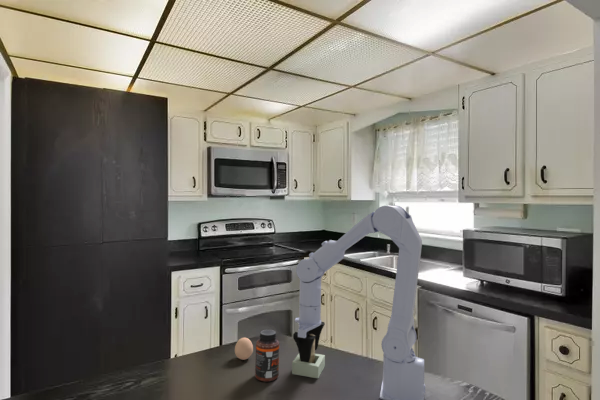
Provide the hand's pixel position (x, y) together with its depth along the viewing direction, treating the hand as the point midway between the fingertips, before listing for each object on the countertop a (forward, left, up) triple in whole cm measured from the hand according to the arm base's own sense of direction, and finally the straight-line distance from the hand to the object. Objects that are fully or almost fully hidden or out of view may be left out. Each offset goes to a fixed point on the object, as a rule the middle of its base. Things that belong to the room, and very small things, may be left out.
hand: (309, 355), depth 94 cm
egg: (+19, 0, -4) cm, 19 cm away
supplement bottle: (+9, +7, -4) cm, 12 cm away
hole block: (0, 0, -4) cm, 4 cm away
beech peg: (0, 0, -4) cm, 4 cm away
